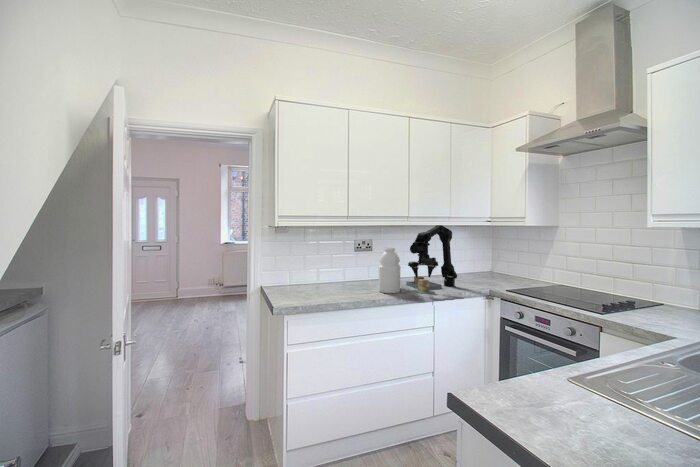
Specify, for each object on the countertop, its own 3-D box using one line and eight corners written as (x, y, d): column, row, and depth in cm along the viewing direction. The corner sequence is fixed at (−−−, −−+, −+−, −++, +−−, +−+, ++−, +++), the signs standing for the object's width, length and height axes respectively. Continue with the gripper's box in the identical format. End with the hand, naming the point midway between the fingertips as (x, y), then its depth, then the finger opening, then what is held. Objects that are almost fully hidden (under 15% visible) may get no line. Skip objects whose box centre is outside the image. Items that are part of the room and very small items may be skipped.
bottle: (404, 291, 214) (405, 248, 213) (389, 294, 205) (389, 248, 205) (389, 288, 225) (389, 246, 224) (373, 291, 216) (374, 247, 216)
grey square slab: (426, 284, 240) (426, 280, 240) (441, 289, 223) (441, 284, 223) (406, 286, 234) (406, 281, 234) (420, 290, 217) (420, 286, 217)
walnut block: (420, 284, 237) (420, 276, 237) (424, 285, 232) (424, 277, 232) (414, 285, 235) (414, 276, 235) (417, 286, 231) (418, 277, 230)
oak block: (424, 290, 215) (424, 278, 215) (428, 291, 210) (429, 280, 210) (417, 290, 213) (417, 279, 213) (421, 292, 209) (422, 280, 208)
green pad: (425, 290, 218) (425, 289, 218) (434, 293, 209) (434, 291, 209) (412, 291, 215) (412, 290, 215) (420, 294, 205) (420, 293, 205)
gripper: (417, 254, 200) (417, 280, 201) (443, 253, 207) (443, 278, 207) (407, 252, 211) (407, 277, 211) (433, 252, 217) (432, 276, 217)
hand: (423, 277), depth 211 cm, fingers open, 9 cm apart
